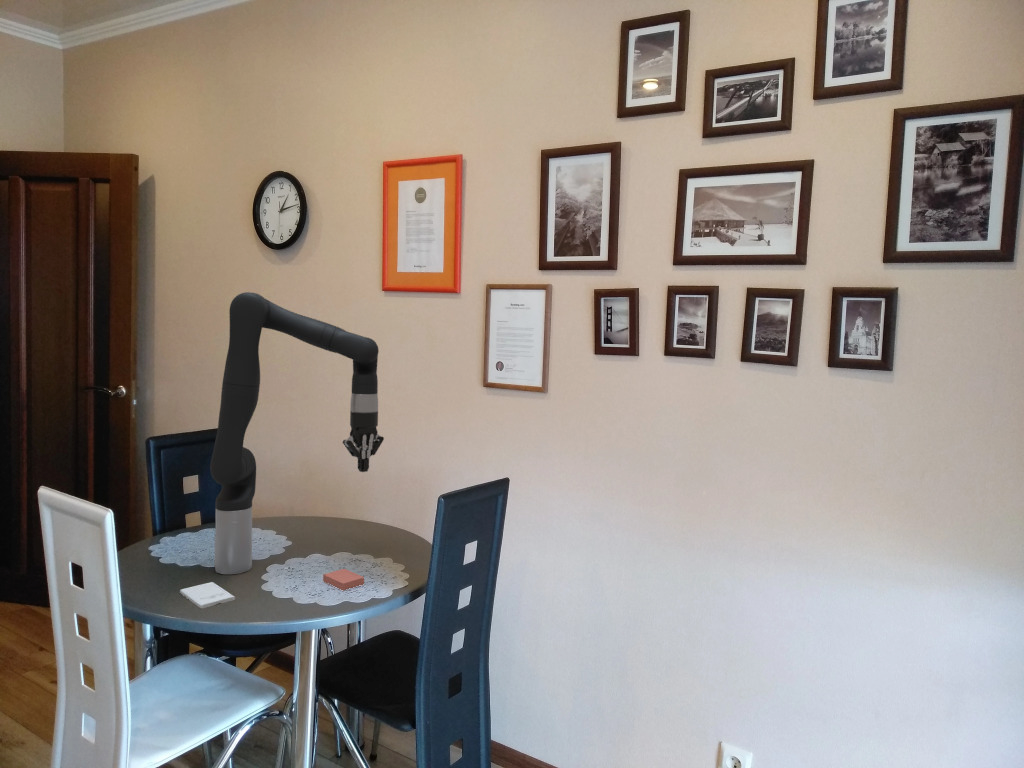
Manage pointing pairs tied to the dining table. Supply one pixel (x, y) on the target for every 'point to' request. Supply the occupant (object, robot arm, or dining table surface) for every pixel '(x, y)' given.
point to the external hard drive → (207, 595)
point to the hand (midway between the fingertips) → (363, 471)
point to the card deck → (343, 579)
